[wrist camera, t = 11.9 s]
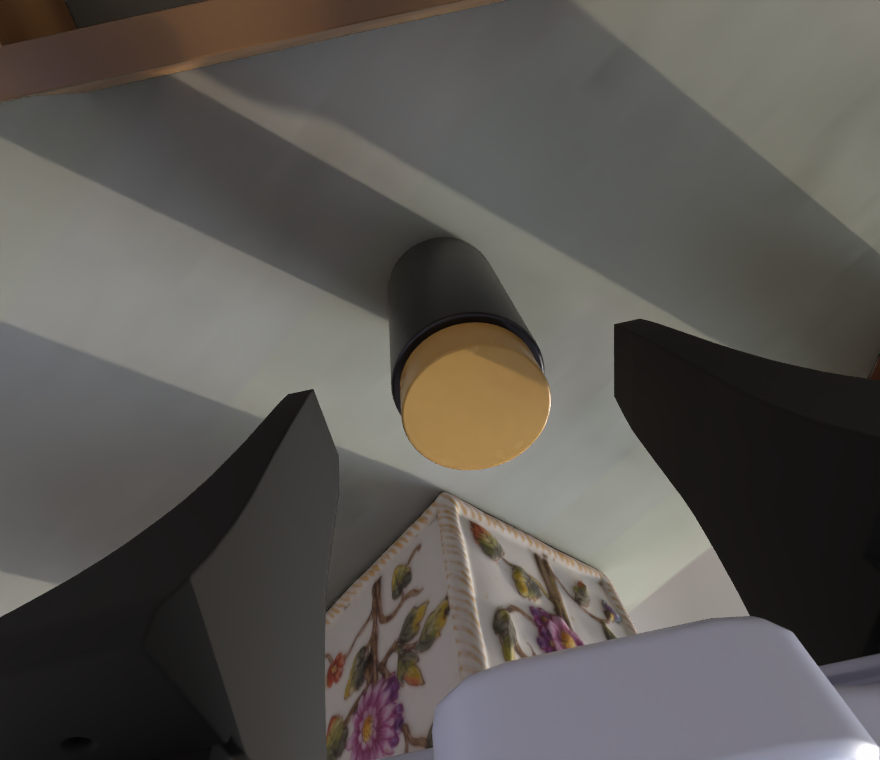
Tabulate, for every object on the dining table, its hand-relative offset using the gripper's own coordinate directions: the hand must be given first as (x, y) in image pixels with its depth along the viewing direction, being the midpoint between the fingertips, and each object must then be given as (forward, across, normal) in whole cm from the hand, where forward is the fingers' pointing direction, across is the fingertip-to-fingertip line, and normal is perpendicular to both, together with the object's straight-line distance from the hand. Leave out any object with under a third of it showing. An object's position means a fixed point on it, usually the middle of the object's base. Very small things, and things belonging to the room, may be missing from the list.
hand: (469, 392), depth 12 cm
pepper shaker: (+7, 0, 0) cm, 7 cm away
